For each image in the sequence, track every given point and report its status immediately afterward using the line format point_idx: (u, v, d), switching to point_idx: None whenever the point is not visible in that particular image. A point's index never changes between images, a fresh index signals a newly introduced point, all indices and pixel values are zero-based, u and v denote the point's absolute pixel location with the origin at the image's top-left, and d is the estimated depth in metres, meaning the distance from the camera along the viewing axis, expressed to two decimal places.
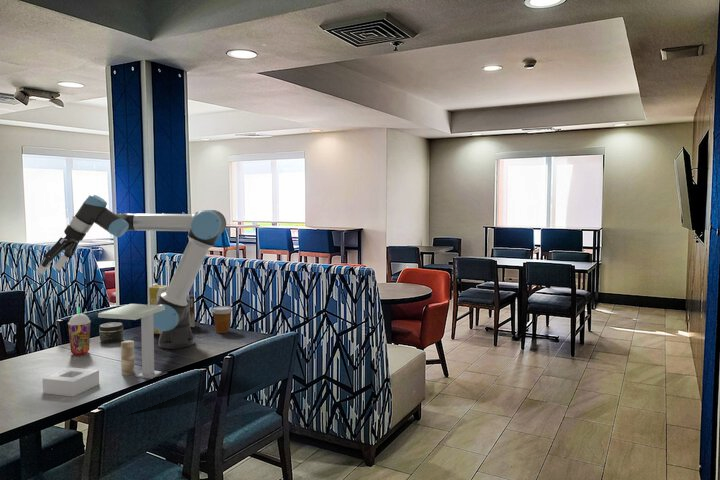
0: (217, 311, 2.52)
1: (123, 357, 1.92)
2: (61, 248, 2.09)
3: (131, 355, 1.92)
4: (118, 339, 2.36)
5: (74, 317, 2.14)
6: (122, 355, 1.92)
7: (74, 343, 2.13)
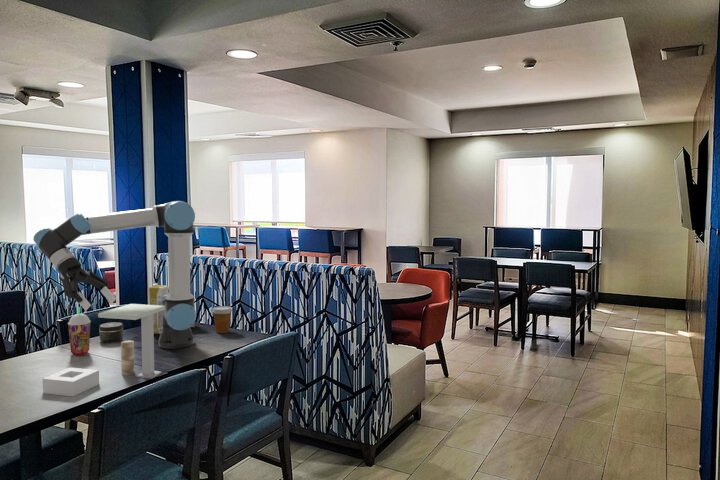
0: (217, 311, 2.52)
1: (123, 357, 1.92)
2: (73, 281, 1.91)
3: (131, 355, 1.92)
4: (118, 339, 2.36)
5: (74, 317, 2.14)
6: (122, 355, 1.92)
7: (74, 343, 2.13)
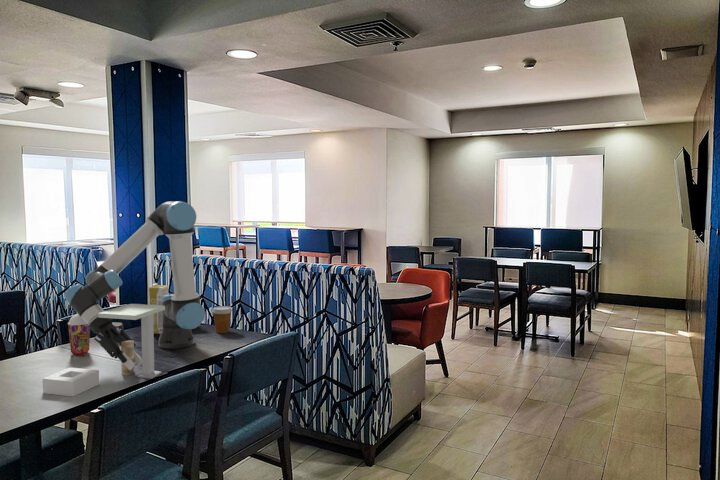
0: (217, 311, 2.52)
1: None
2: (110, 340, 1.91)
3: (131, 355, 1.92)
4: None
5: (74, 317, 2.13)
6: None
7: (74, 343, 2.13)
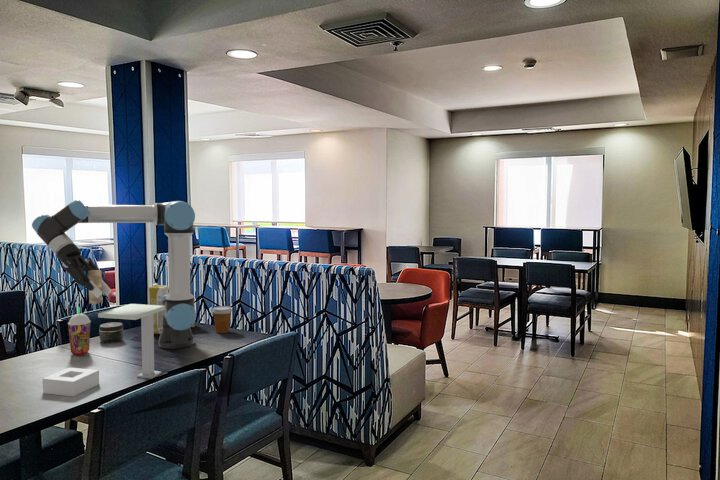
0: (217, 311, 2.52)
1: None
2: (78, 268, 1.92)
3: (98, 284, 1.93)
4: (118, 339, 2.36)
5: (74, 317, 2.14)
6: None
7: (74, 343, 2.13)
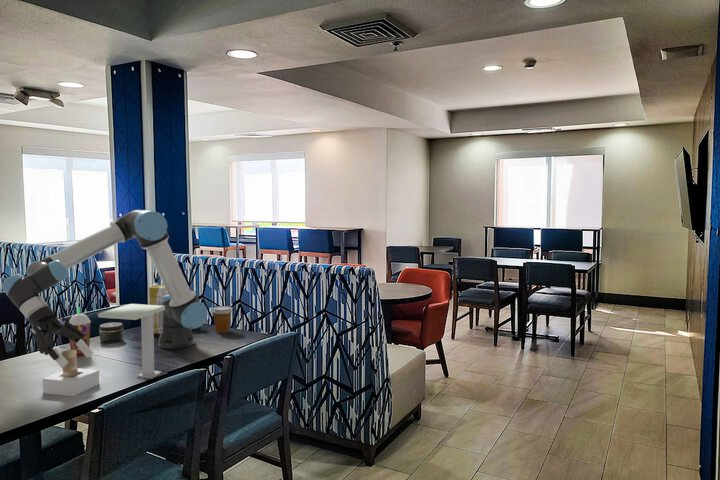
0: (217, 311, 2.52)
1: (64, 368, 1.75)
2: (47, 334, 1.74)
3: (73, 366, 1.76)
4: (118, 339, 2.36)
5: (74, 317, 2.14)
6: None
7: (74, 343, 2.13)
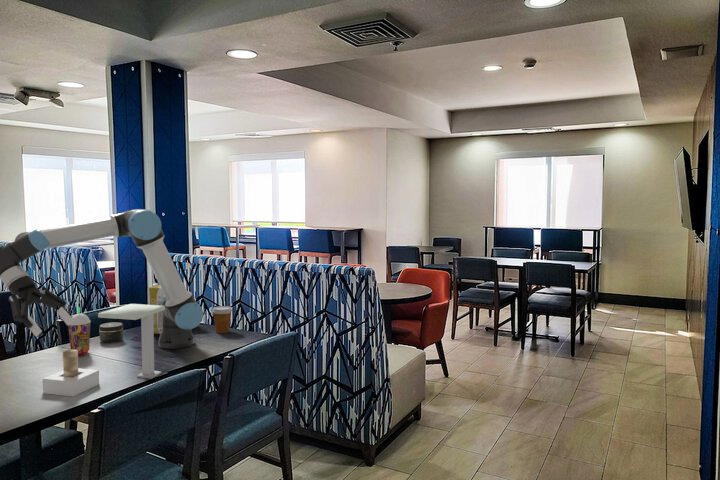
0: (217, 311, 2.52)
1: (65, 368, 1.75)
2: (24, 303, 1.76)
3: (74, 366, 1.76)
4: (118, 339, 2.36)
5: (74, 317, 2.14)
6: (64, 366, 1.76)
7: (74, 343, 2.13)
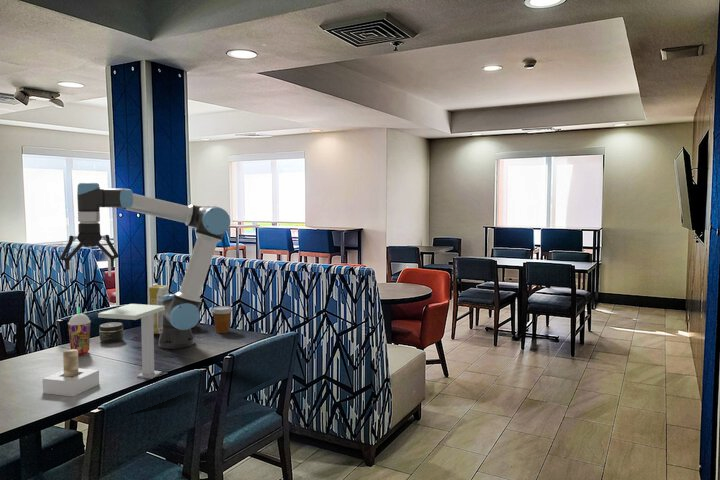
0: (217, 311, 2.52)
1: (65, 367, 1.75)
2: (77, 246, 1.98)
3: (74, 366, 1.76)
4: (118, 339, 2.36)
5: (74, 317, 2.14)
6: (64, 365, 1.76)
7: (74, 343, 2.13)
